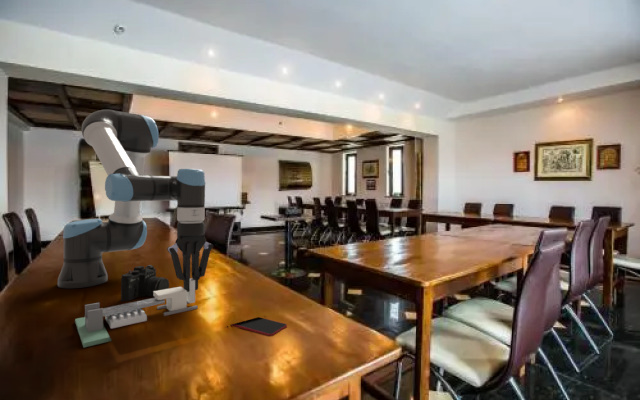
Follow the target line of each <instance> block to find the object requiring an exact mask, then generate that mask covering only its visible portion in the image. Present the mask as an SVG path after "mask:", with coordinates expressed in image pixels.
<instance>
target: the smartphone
mask: <svg viewBox="0 0 640 400" xmlns="http://www.w3.org/2000/svg"><path fill="white" fill-rule="evenodd" d="M230 326H231V327H235V328H238V329H241V330H247V331H250V332H252V333H256V334H257V333H258V334H259V335H264V336H269V337H273V336H274V335H276V334H277V333H279V332H280V331H282V330H284V329H285V328H287V326H288V325H287V324H286V323H283V322H280V321H277V320H276V321H275V320H272V319H268V318H264V317H260V316H257V317H254V318H251V319H247V320H244V321H243V320H242V321H240V322H235V323H231V324H230Z"/></svg>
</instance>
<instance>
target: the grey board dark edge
mask: <svg viewBox="0 0 640 400" xmlns="http://www.w3.org/2000/svg"><path fill="white" fill-rule="evenodd" d="M165 301H166V299H162V300H158V299H157V298H155V297H151V298H146V299H142V300H137V301H133V302H128V303H127V302H126V303H122V304H118V305H112V306H108V307H104V308H103V307H102V308H103V318H104V317H105V316H108V315H113V314H117V313H122V312H126V311H131V310H135V309H140V308H142V309H143V308H148V307H152V306H156V305H157V306H159V305H162V304H165Z"/></svg>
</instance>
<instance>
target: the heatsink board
mask: <svg viewBox="0 0 640 400" xmlns="http://www.w3.org/2000/svg"><path fill="white" fill-rule="evenodd" d="M100 304H101V303H100V302H95V303H89V304H84V317H77V318H75V320H74V323H75V325H76V326H75V327H76V329H77V333H78V335H79V338H80V341H81V345H82V347H83V348H87V347H88V348H89V347H92V346H96V345H100V344H105V343H108V342H112V340H113V339H112V338H111V336H110V334H109V332H108V331H107V329H106V327H105V325H104V317H105V321H106V323H107V324H108V326H109V328H110V329H116V328H120V327H124V326H128V325H133V324H138V323H142V322H143V323H144V322H147V321H148V317H147V316H148V315H147V314H146V313H145V311H144V309H143V308H140V309H135V310H131V311H126V312H122V313H117V314H113V315H108V316H104V317H103V307H101V308H100ZM187 304H190V303H189V302H187ZM162 309H167V308H166V304H163V305H162V304H161V305H157V306H156V310H162ZM196 309H198V305H193V306H189V307H188V306H187V308H183V309H178V310H173V311H169V310H168V311H165V312H163V316H164V317H167V316H170V315H174V314H179V313H183V312H188V311H193V310H196Z"/></svg>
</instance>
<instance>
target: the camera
mask: <svg viewBox="0 0 640 400" xmlns="http://www.w3.org/2000/svg"><path fill="white" fill-rule="evenodd" d="M156 275H157V270H156V268H155V266H153V265H152V264H148V265H146V266H145V267H144V265H138V266H135V267H134V268H133V270H128V272H126V273H125V274H122V275H121V278H120V280H121V284H120V301H121V302H130V301H132V300H134V299H136V298H139V297H146V296H147V297H154V296H153V291H158V290H164V289H170V282H169V279H168V278H165V277H163V276H161V277H158V276H156Z"/></svg>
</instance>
